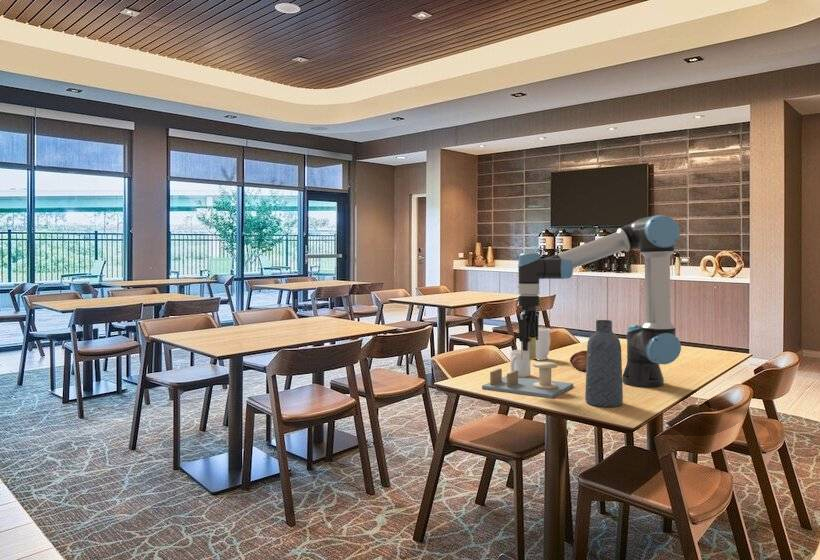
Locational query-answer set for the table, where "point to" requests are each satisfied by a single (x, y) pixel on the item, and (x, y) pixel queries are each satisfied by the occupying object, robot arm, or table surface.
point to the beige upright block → (531, 348)
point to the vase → (604, 367)
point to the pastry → (579, 360)
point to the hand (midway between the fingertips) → (528, 358)
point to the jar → (542, 343)
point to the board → (528, 382)
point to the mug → (519, 364)
